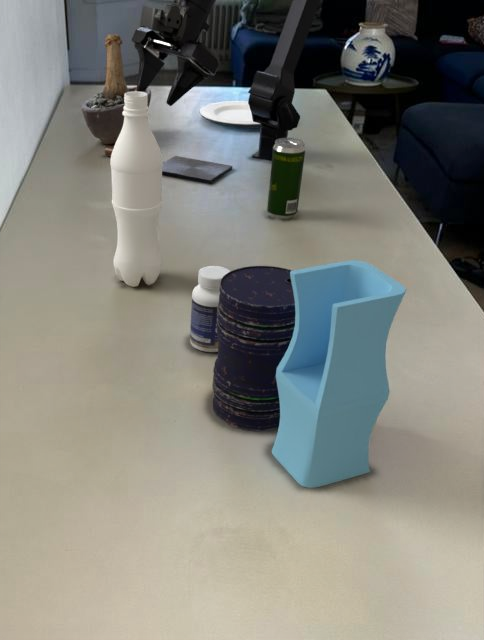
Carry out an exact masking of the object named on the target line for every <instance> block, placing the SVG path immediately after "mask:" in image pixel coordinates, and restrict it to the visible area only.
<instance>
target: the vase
mask: <svg viewBox="0 0 484 640" xmlns="http://www.w3.org/2000/svg"><path fill="white" fill-rule="evenodd" d="M290 276H291V282H292V287H293V293H294V299H295V312H296V315H295V328H294V332H293V336H292V339H291V342H290V344H289V347H288V349H287V351H286V353H285V355H284V357H283V358H282V360H281V362H280V364H279V365H278V367H277V370H276V381H277V387H278V393H279V401H280V422H279V428H277V433H276V438H275V440H274V444H273V446H272V449H271V454H272V456H273V457H274V458H275V459H276V460H277V461H278V463H279V464H280V465H281V466H282V467H283V468H284V469H285V470H286V471H287V473H288V474H289V475H290V476H291V477H292V478H293V479H294V480H295V482H297V484H298V485H300V486H301V487H303V488H307V489H308V488H309V489H314V488H320V487H324V486H327V485H330V484H333V483H334V484H335V483H337V482H340V481H344V480H348V479H352V478H355V477H359V476H361V475H365V474H369V473H370V471H371V470H370V459H369V455H370V454H369V450H370V439H371V435H372V432H373V429H374V426H375V424H376V423H377V420H378V417H379V416H380V414H381V412H382V410H383V408H384V407H385V405H386V403H387V401H388V400H389V395H390V383H389V380H388V372H387V364H386V363H387V359H386V354H387V353H386V352H387V343H388V337H389V334H390V330H391V327H392V324H393V322H394V319H395V316H396V314H397V312H398V310H399V307H400V306H401V303H402V301H403V298H404V297H405V295H406V292H407V288H406V286H404V285H403V284H402V283H400V282H398V281H397V280H395V279H394V278H392V277H391V276H389V275H387V274H386V273H384V272H383V271H381V270H380V269H379V268H377V267H376V266H374V265H372V264H371V263H369V262H367V261H363V260H358V259H350V260H343V261H336V262H333V263H326V264H322V265H321V264H320V265H316V266H310V267H306V268H300V269H293V270H292V271H290Z"/></svg>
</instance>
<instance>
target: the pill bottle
mask: <svg viewBox="0 0 484 640" xmlns="http://www.w3.org/2000/svg"><path fill="white" fill-rule="evenodd" d="M228 272H231V270H230V269H229V268H226V267H224V266H221V265H206V266H203V267H201V268H199V270H198V276H197V277H198V278H197V283H198V284H197V285H196V286H195V287H194V288H193V289H192V293H191V303H190V304H191V305H190V306H191V307H190V308H191V311H190V329H189V342H190V344H191V346H192V347H193V348H194V349H196V350H198V351H201V352H206V353H218V341H219V337H218V335H217V328H216V323H217V307H218V303H219V295H220V281H221V279H222V277H223V276H224V275H225V274H227V273H228Z"/></svg>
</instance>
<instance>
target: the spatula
mask: <svg viewBox="0 0 484 640" xmlns="http://www.w3.org/2000/svg"><path fill="white" fill-rule="evenodd" d="M113 148H114V146H112V145H106V146H105V148H104V155H105V156H106V157H109V158H111V154H112V151H113ZM232 171H233V165H231V164H223V163H217V162H212V161H207V160H203V159H202V160H201V159H196V158H191V157H185V156H178V155H175V156H173V157H171V158H169V159H167V160H166V161H163V166H162V176H165V177H171V178H176V179H181V180H185V181H192V182H197V183H201V184H208V185H212V184H213V183H214V182H216V181H218V180H219V179H221V178H222V177H224V176H225V175H227V174H228V173H230V172H232Z"/></svg>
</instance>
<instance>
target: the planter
mask: <svg viewBox="0 0 484 640" xmlns="http://www.w3.org/2000/svg"><path fill="white" fill-rule="evenodd" d="M104 41H105V42H104V46H105V47H106V72H105V73H106V75H105V83H104V86H103V90H100V92H98V93H96V94H94V95H93V96H92V97H90V98H88V99H87V100H85V101H84V102H83V103H82V104H81V112H82V115H83V119H84V121H85V123H86V126H87V128H88V130H89V131H90V133H91V134H92V136H94V137H95V138H96V139H99V141H101V143H102V144H103V145H106V146H110V145H115V143H116V141H117V139H118V137H119V135H120V132H121V130H122V127H123V124H124V116H123V114H122V112H123V111H124V109H123V108H124V106H125V102H124V100H125V99H124V94H125V93H127V92H133V91H136V89H137V86H132V87H130V86H129V87H128V85H127V82H126V79H125V74H124V64H123V55H122V47H121V46H122V44H123V39H122V38H121V36H120V35H119V34H117V33H108V34H107V35H106V37H105V39H104ZM144 92H145V93H147V96H148V98H147V99H148V101H147V102H148V104H147V106H148V108H149V109H150V105H151V100H152V89H151V88H150V87H149V86H148V88H147V89H146V90H145V91H144Z"/></svg>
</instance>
